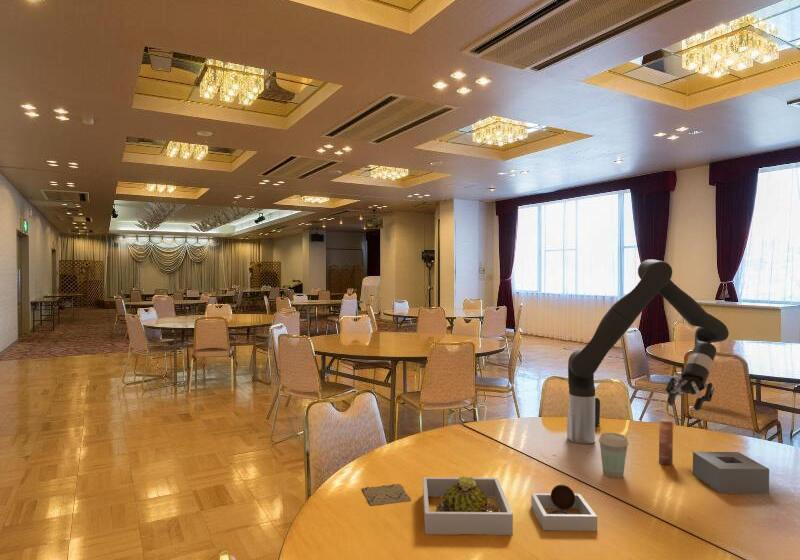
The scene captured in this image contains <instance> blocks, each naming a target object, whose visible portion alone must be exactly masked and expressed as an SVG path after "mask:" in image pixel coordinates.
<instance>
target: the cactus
mask: <svg viewBox="0 0 800 560" xmlns="http://www.w3.org/2000/svg"><path fill="white" fill-rule="evenodd" d="M458 478H459V479H458V483H456V484H455V485H452V486H451V487H450V488H449V489H448V490H446V493H444V497H443V499H442V500H441V501H439V502H438V504H437V505H436V510H435V512H489V511H492V512H500V511H499V508H498V506H496V505H494V504H492V503H490V502H489V501H488V499H487V497H485V495H484V492H483V491H481V490H480V489H481V488H480V489H479V488H478V487H477V486H476V484H477V483H475V482H476V481H475V479H473V478H474V477H472V476H470V477H469V476H464V475H463V476H460V477H458ZM475 486H476V487H475ZM487 510H488V511H487Z"/></svg>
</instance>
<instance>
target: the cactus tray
mask: <svg viewBox="0 0 800 560" xmlns="http://www.w3.org/2000/svg"><path fill="white" fill-rule="evenodd" d="M459 478H460V477H435V476H434V477H427V476H425V477H422V500H423V501H422V503H423V518H424V519H423V520H424V535H460V534H478V535H477V536H481V535H482V534H487V535H486V536H513V535H514V533H513V532H514V530H513V529H514V528H513V527H514V521H513V520H514V519H513V518H514V516H513V511H512V509H511V507H510V504H509V501H508V499H507V497H506V495H505V492H504V489H503V488H502V487H503V486H502V485H501V482H500V481H499V478H498V477H472V478H473V479H475V481H476V482H475V483H477V484H476V486H477V487H478V488H479V489H480V488H481V489H480V490H481V491H483V492H484V495H485V498H494V500H495V503H496V502H497V503H496V505H497V508H498V510H500V511H499V512H436V511H430V507H429V506H430V505H429V496H431V497H434V496H438V497H442V496H444V493H446V490H448V489H449V488H450V487H451V486H452V485H455V484H456V483H458V479H459ZM476 486H475V487H476ZM438 497H437V498H438ZM442 498H443V497H442ZM479 534H481V535H479ZM489 534H490V535H489ZM482 536H483V535H482Z"/></svg>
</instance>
